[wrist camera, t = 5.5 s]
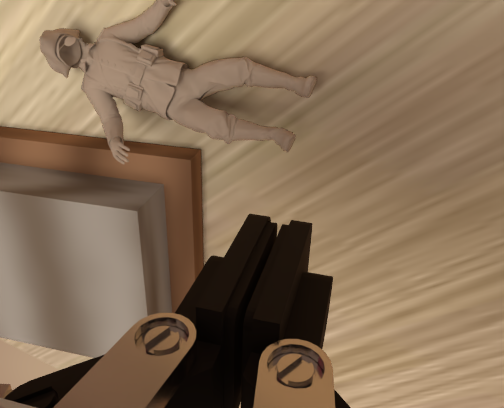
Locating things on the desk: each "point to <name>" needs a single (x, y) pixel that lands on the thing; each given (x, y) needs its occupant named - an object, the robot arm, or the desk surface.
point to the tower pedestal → (93, 237)
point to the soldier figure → (163, 81)
